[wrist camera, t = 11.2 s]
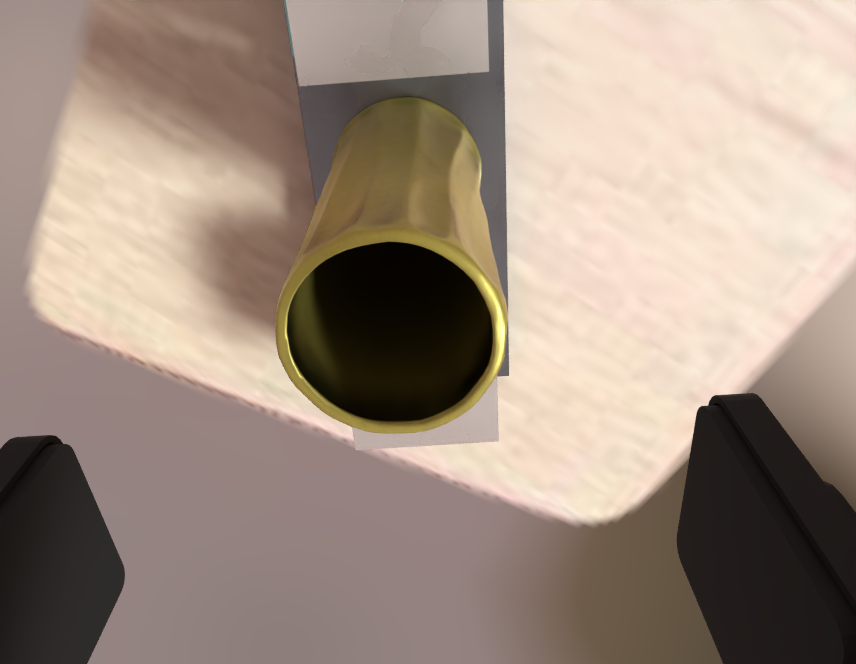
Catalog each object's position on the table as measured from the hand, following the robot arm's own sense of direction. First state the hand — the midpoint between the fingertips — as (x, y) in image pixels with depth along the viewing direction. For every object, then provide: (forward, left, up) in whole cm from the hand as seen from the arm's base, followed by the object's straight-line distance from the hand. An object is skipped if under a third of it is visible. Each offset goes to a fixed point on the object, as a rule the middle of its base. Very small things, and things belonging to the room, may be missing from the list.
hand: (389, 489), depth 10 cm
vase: (0, 0, -20) cm, 20 cm away
